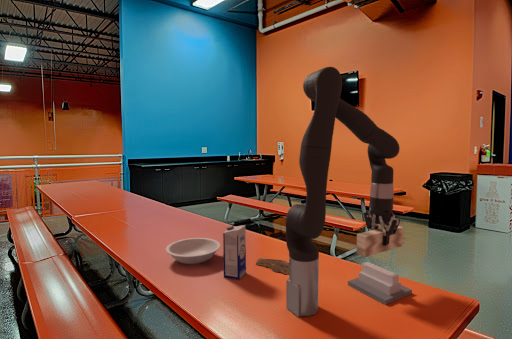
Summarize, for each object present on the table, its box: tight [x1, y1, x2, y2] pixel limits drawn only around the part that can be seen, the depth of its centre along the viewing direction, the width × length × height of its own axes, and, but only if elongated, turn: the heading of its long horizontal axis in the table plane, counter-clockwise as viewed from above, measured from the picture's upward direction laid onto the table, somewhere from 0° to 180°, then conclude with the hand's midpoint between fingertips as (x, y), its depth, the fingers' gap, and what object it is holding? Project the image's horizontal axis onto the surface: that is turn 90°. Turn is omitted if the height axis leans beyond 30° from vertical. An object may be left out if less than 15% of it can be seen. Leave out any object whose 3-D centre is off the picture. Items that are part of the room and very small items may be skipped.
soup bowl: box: [165, 237, 222, 265], centre depth 138 cm, size 24×24×7 cm
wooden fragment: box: [255, 257, 289, 276], centre depth 130 cm, size 26×11×1 cm, turn 47°
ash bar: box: [356, 226, 404, 258], centre depth 109 cm, size 20×4×7 cm, turn 120°
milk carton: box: [222, 224, 247, 281], centre depth 122 cm, size 7×7×20 cm
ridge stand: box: [347, 261, 413, 306], centre depth 110 cm, size 14×16×8 cm
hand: (380, 243), depth 109 cm, fingers closed on ash bar, 3 cm apart
